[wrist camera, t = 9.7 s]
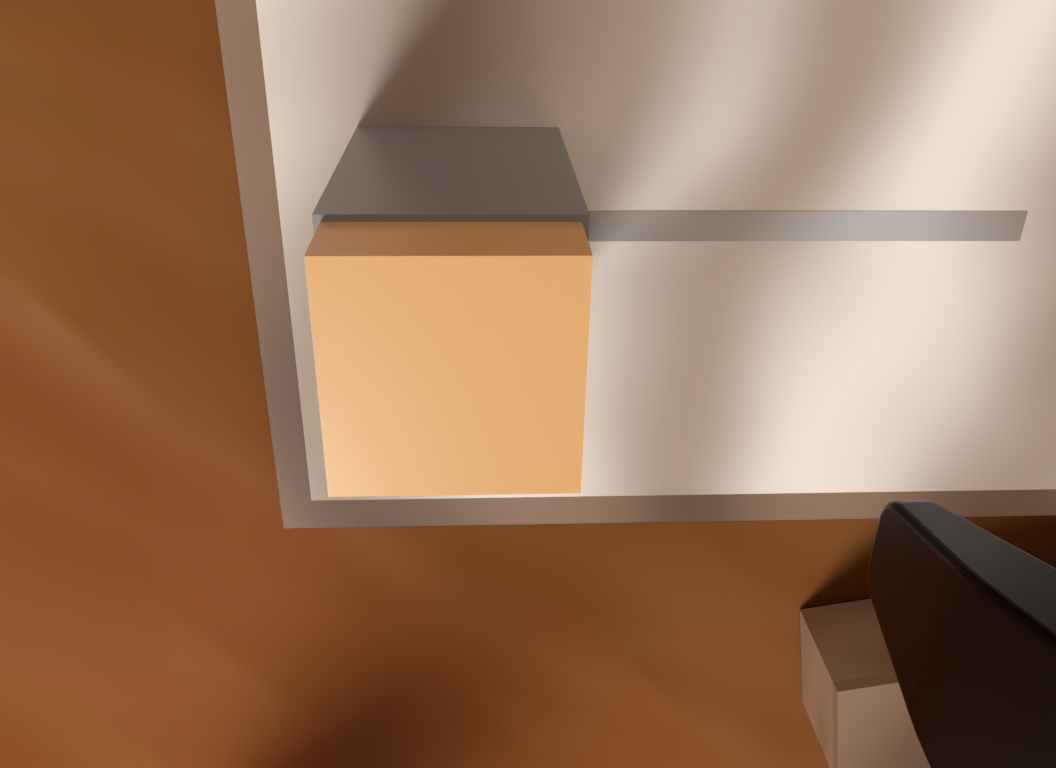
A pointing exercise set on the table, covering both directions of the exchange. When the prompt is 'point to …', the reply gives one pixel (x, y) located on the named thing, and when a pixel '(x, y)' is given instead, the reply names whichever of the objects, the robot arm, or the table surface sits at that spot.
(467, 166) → the lidded cardboard box
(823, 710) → the plain pale rectangular box
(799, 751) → the table surface
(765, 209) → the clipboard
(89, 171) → the table surface
